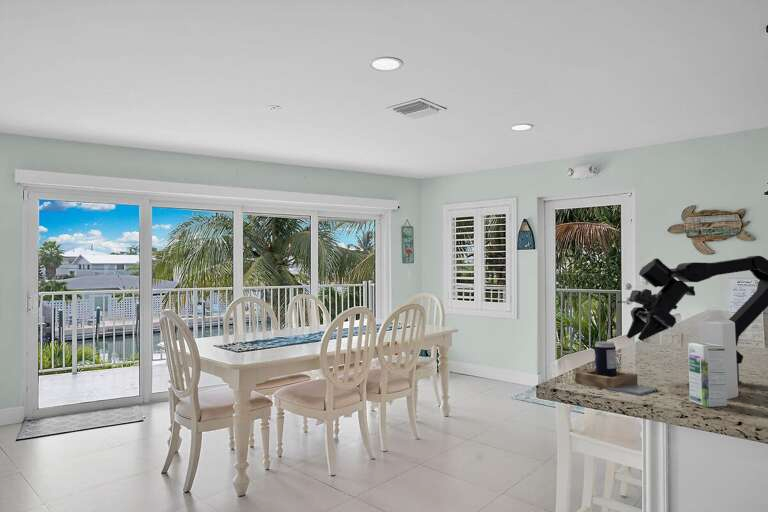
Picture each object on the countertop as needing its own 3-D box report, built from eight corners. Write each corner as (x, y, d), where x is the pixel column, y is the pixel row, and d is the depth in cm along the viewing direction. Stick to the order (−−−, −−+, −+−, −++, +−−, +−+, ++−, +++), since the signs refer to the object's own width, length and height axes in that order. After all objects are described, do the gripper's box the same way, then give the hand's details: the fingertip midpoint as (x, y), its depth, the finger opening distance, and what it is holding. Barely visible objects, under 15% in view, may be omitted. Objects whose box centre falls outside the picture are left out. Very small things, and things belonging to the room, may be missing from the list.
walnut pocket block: (637, 384, 144) (637, 373, 145) (613, 390, 138) (613, 379, 138) (599, 377, 154) (599, 368, 154) (575, 382, 148) (575, 372, 148)
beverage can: (612, 381, 149) (611, 340, 149) (619, 385, 143) (618, 343, 143) (593, 381, 149) (591, 341, 150) (599, 385, 143) (597, 343, 144)
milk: (738, 396, 128) (735, 310, 129) (725, 400, 125) (722, 311, 126) (713, 392, 134) (710, 309, 135) (700, 395, 131) (697, 310, 132)
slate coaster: (657, 390, 136) (657, 388, 136) (639, 395, 131) (639, 393, 131) (625, 385, 144) (625, 383, 144) (607, 389, 139) (607, 387, 139)
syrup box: (688, 401, 124) (686, 342, 125) (711, 400, 125) (708, 342, 125) (705, 407, 119) (702, 345, 119) (728, 406, 119) (726, 345, 120)
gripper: (633, 281, 157) (601, 319, 157) (658, 278, 139) (621, 321, 139) (663, 304, 155) (630, 343, 155) (692, 304, 137) (655, 348, 137)
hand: (633, 338), depth 147 cm, fingers open, 9 cm apart
